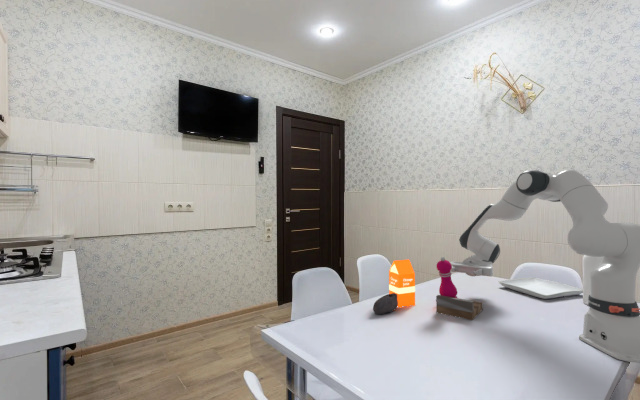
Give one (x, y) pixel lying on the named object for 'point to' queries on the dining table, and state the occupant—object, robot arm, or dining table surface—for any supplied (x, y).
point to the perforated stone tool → (386, 304)
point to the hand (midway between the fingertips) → (463, 271)
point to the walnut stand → (458, 307)
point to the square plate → (541, 287)
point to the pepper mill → (446, 279)
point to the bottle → (588, 274)
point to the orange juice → (402, 282)
